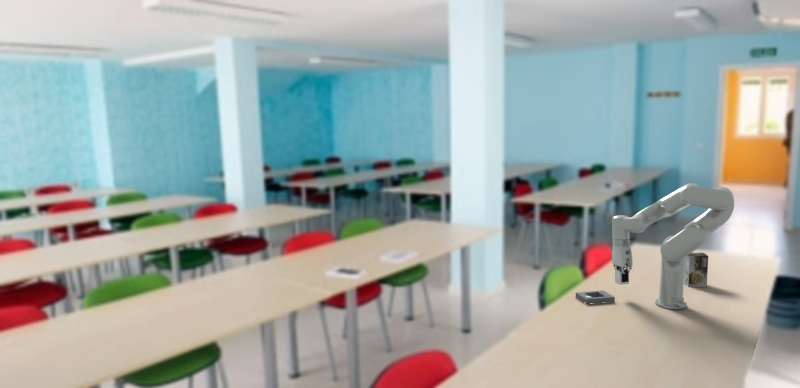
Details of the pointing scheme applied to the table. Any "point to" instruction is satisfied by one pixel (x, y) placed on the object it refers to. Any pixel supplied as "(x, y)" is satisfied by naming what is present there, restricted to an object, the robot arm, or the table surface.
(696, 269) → the coffee box
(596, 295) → the socket plate
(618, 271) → the plug
